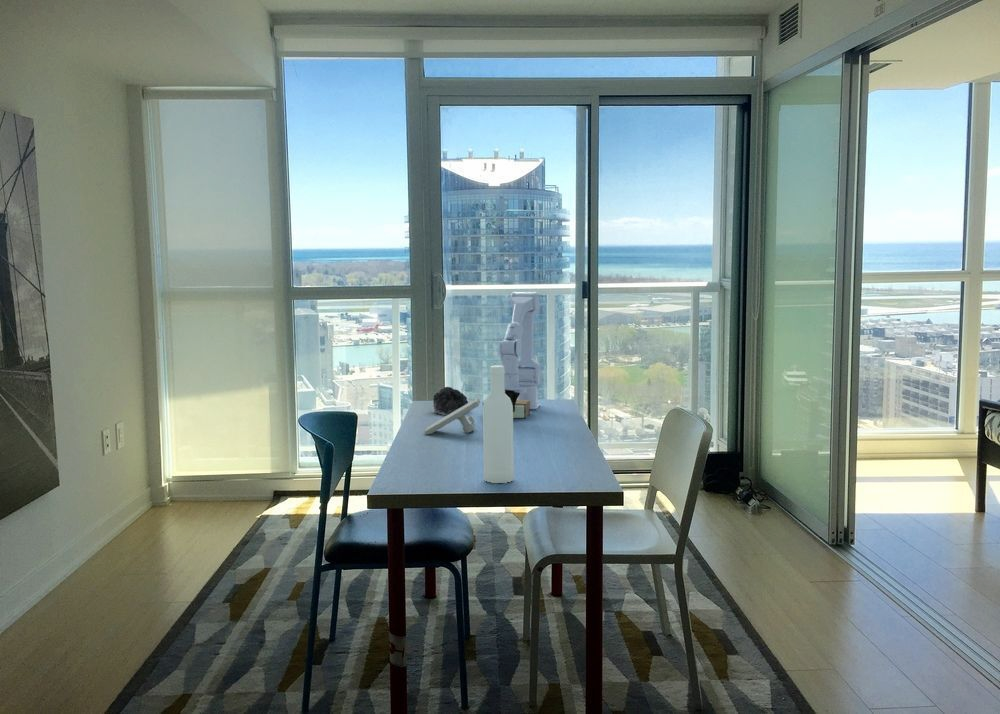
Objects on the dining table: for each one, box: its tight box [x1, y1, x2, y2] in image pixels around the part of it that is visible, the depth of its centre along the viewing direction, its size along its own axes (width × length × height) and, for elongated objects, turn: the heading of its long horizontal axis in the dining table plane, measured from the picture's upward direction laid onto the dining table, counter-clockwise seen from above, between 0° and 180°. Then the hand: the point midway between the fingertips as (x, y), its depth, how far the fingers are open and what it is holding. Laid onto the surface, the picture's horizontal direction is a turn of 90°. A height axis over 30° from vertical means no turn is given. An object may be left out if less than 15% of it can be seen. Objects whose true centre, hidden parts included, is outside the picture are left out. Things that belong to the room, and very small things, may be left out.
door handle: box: [424, 397, 481, 435], centre depth 275 cm, size 18×8×20 cm
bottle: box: [482, 365, 515, 484], centre depth 212 cm, size 8×8×30 cm
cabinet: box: [482, 399, 531, 417], centre depth 296 cm, size 7×16×5 cm, turn 78°
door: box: [513, 406, 528, 419], centre depth 290 cm, size 2×15×4 cm, turn 91°
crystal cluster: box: [433, 386, 469, 416], centre depth 304 cm, size 13×14×10 cm
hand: (511, 412), depth 289 cm, fingers closed, pressing on door
